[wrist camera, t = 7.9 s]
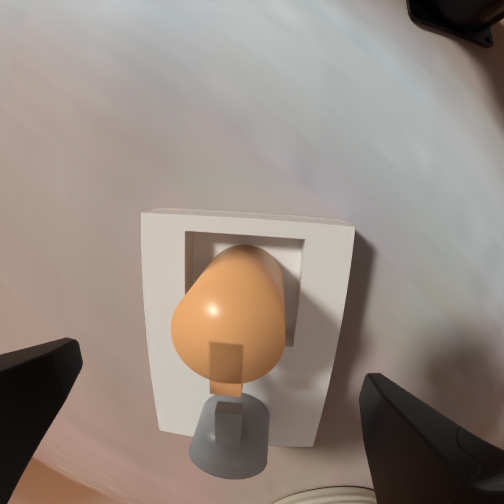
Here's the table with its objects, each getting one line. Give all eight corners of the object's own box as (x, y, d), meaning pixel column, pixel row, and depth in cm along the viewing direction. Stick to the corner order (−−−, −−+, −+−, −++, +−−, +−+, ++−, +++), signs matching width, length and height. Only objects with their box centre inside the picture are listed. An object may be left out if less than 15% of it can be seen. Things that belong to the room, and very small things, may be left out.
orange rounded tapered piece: (286, 247, 16) (291, 288, 10) (278, 329, 17) (277, 400, 11) (207, 241, 16) (168, 277, 10) (206, 323, 17) (174, 388, 11)
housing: (344, 219, 16) (379, 242, 10) (310, 422, 19) (316, 488, 14) (159, 207, 17) (104, 223, 11) (170, 407, 20) (142, 466, 14)
